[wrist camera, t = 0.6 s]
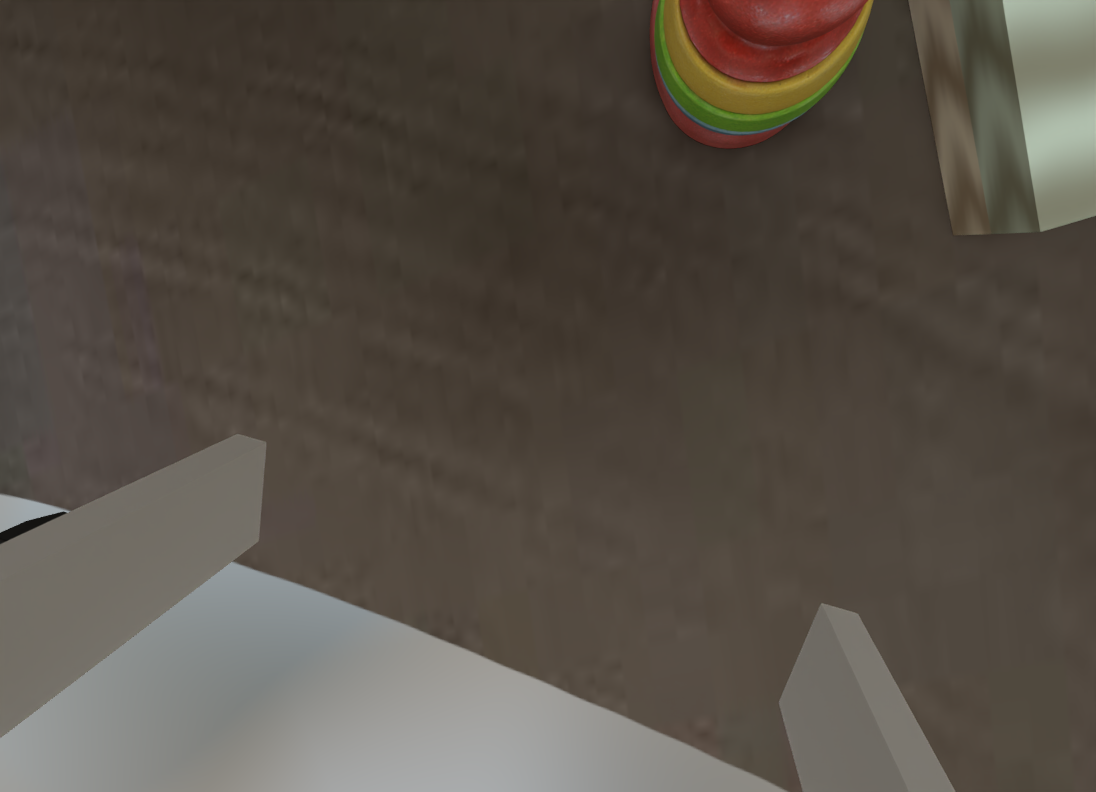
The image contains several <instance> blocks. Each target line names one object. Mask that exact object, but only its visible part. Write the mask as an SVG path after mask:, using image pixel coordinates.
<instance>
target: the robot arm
mask: <svg viewBox="0 0 1096 792" xmlns="http://www.w3.org/2000/svg"><path fill="white" fill-rule="evenodd" d="M265 455H266V442H264V441H261V440H257V439H254V438H250V437H247V436H243V435H240V434H236V435H234V436H232V437H230V438H228V439H225V440H223V441H221V442H219V443H217V444H215V445H213V446H210V447H208V448H206V449H204V450H202V451H200V452H197V453H195V454H193V455H191V456H189V457H187V458H185V459H182V460H180V461H178V462H176V463H174V464H172V465H170V466H167V467H165V468H163V469H161V470H159V471H157V472H154V473H152V474H150V475H148V476H146V477H144V478H142V479H139V480H137V481H135V482H133V483H131V484H129V485H127V486H124V487H122V488H120V489H118V490H116V491H114V492H111V493H109V494H107V495H105V496H103V497H101V498H99V499H96V500H94V501H92V502H90V503H88V504H86V505H84V506H81V507H79V508H77V509H75V510H73V511H71V512H69V513H66V512H60V513H56V514H52V515H48V516H44V517H41V518H36V519H33V520H29V521H26V522H24V523H21V524H19V525H17V526H14V527H12V528H10V529H8V530H5V531H3V532H1V533H0V738H1V737H2V736H4V735H5V734H6V733H7V732H9V731H10V730H12V729H13V728H14V727H15V726H17V725H18V724H19V723H21V722H22V721H23V720H25V719H26V718H27V717H29V716H30V715H31V714H32V713H34V712H35V711H36V710H38V709H39V708H40V707H42V706H43V705H44V704H46V703H47V702H48V701H50V700H51V699H52V698H53V697H55V696H56V695H57V694H59V693H60V692H61V691H63V690H64V689H65V688H66V687H68V686H69V685H71V684H72V683H73V682H74V681H76V680H77V679H78V678H80V677H81V676H82V675H84V674H85V673H86V672H88V671H89V670H90V669H91V668H93V667H94V666H95V665H97V664H98V663H99V662H101V661H102V660H103V659H105V658H106V657H107V656H109V655H110V654H111V653H112V652H114V651H115V650H116V649H118V648H119V647H120V646H122V645H123V644H124V643H126V642H127V641H128V640H130V639H131V638H132V637H134V636H135V635H136V634H137V633H139V632H140V631H141V630H143V629H144V628H145V627H147V626H148V625H149V624H151V623H152V622H153V621H154V620H156V619H157V618H158V617H160V616H161V615H162V614H163V613H165V612H166V611H167V610H169V609H170V608H172V607H173V606H174V605H175V604H177V603H178V602H179V601H181V600H182V599H183V598H184V597H186V596H187V595H189V594H190V593H191V592H192V591H194V590H195V589H196V588H198V587H199V586H200V585H202V584H203V583H204V582H206V581H207V580H208V579H210V578H211V577H212V576H214V575H215V574H216V573H217V572H219V571H220V570H221V569H223V568H224V567H225V566H227V565H228V564H229V563H231V562H232V561H233V560H235V559H236V558H237V557H238V556H240V555H241V554H242V553H244V552H245V551H246V550H248V549H249V548H250V547H252V546H253V545H254V544H255V543H257V542H258V541H259V530H260V518H261V505H262V493H263V480H264V467H265ZM779 706H780V709H781V713H782V717H783V720H784V724H785V728H786V731H787V735H788V739H789V742H790V746H791V750H792V753H793V757H794V761H795V764H796V768H797V772H798V775H799V779H800V783H801V786H802V790H803V792H955V790H954V788H953V786H952V785H951V783H950V781H949V779H948V777H947V776H946V774H945V772H944V770H943V768H942V766H941V765H940V763H939V761H938V759H937V757H936V755H935V754H934V752H933V750H932V748H931V746H930V745H929V743H928V741H927V739H926V737H925V735H924V734H923V732H922V730H921V728H920V726H919V725H918V723H917V721H916V719H915V717H914V715H913V714H912V712H911V710H910V708H909V706H908V705H907V703H906V701H905V699H904V697H903V695H902V694H901V692H900V690H899V688H898V686H897V685H896V683H895V681H894V679H893V677H892V675H891V674H890V672H889V670H888V668H887V666H886V664H885V663H884V661H883V659H882V657H881V655H880V654H879V652H878V650H877V648H876V646H875V644H874V643H873V641H872V639H871V637H870V635H869V634H868V632H867V630H866V628H865V626H864V624H863V623H862V621H861V619H860V617H859V615H858V614H857V613H854V612H851V611H847V610H844V609H840V608H837V607H833V606H830V605H827V604H823V603H821V605H820V607H819V609H818V612H817V614H816V616H815V619H814V621H813V623H812V626H811V628H810V630H809V633H808V635H807V637H806V640H805V642H804V644H803V647H802V649H801V651H800V654H799V656H798V658H797V661H796V663H795V665H794V668H793V670H792V673H791V675H790V677H789V680H788V682H787V684H786V687H785V689H784V691H783V694H782V696H781V698H780V701H779Z"/></svg>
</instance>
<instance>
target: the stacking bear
mask: <svg viewBox="0 0 1096 792" xmlns="http://www.w3.org/2000/svg"><path fill="white" fill-rule="evenodd" d="M872 4H873V0H653V4H652V10H651V20H650V51H651V61H652V68H653V73H654V77H655V81H656V85H657V88H658V91H659V94H660V97H661V99H662V101H663V103H664V106H665V108H666V110H667V112H668V114H669V115H670V117H671V119H672V120H673V121H674V123H675V124H676V125H677V126H678V127H679V128H680V129H681V130H682V131H683V132H684V133H685V134H686V135H688V136H689V137H691V138H693V139H694V140H696V141H698V142H700V143H703V144H705V145H709V146H712V147H716V148H726V149H729V148H742V147H747V146H750V145H754V144H757V143H760V142H762V141H764V140H766V139H768V138H770V137H772V136H773V135H775V134H776V133H778V132H779V131H781V130H782V129H783V128H784V127H786V126H787V125H788V124H789V123H790V122H791V121H793V120H795V119H796V118H798V117H799V116H801V115H802V114H804V113H805V112H806V111H808V110H809V109H810V108H811V107H813V106H814V105H815V104H816V103H817V102H818V101H819V100H820V99H821V98H822V97H823V96H824V95H825V94H826V93H827V92H828V91H829V90H830V89H831V88H832V87H833V85H834V84H835V83H836V82H837V80H838V79H839V78H840V76H841V75H842V73H843V72H844V70H845V69H846V67H847V66H848V64H849V62H850V61H851V59H852V57H853V55H854V53H855V51H856V49H857V47H858V45H859V43H860V40H861V38H862V35H863V32H864V29H865V26H866V23H867V21H868V18H869V15H870V12H871V8H872Z"/></svg>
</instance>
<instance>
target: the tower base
mask: <svg viewBox="0 0 1096 792" xmlns="http://www.w3.org/2000/svg"><path fill="white" fill-rule="evenodd" d="M908 2H909V7H910V13H911V18H912V23H913V28H914V34H915V39H916V44H917V49H918V54H919V60H920V65H921V70H922V75H923V81H924V86H925V91H926V96H927V101H928V107H929V112H930V117H931V122H932V128H933V133H934V138H935V143H936V148H937V154H938V159H939V164H940V169H941V175H942V180H943V185H944V190H945V195H946V201H947V206H948V211H949V216H950V222H951V227H952V232H953V235H977V234H1002V233H1028V232H1042V231H1046V230H1049V229H1052V228H1056V227H1059V226H1062V225H1066V224H1069V223H1072V222H1076V221H1079V220H1083V219H1086V218H1089V217H1093V216H1096V0H908Z"/></svg>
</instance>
